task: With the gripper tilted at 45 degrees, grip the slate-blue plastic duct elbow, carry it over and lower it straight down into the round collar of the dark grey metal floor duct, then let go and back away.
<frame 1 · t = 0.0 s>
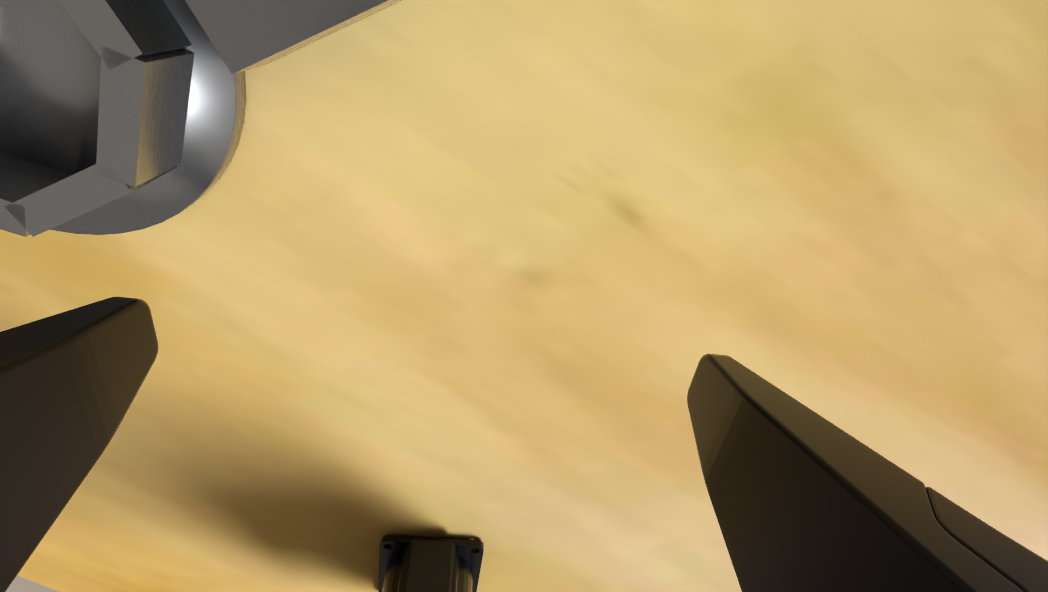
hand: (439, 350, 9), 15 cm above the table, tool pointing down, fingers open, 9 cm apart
duct collar: (42, 44, 19), on the table
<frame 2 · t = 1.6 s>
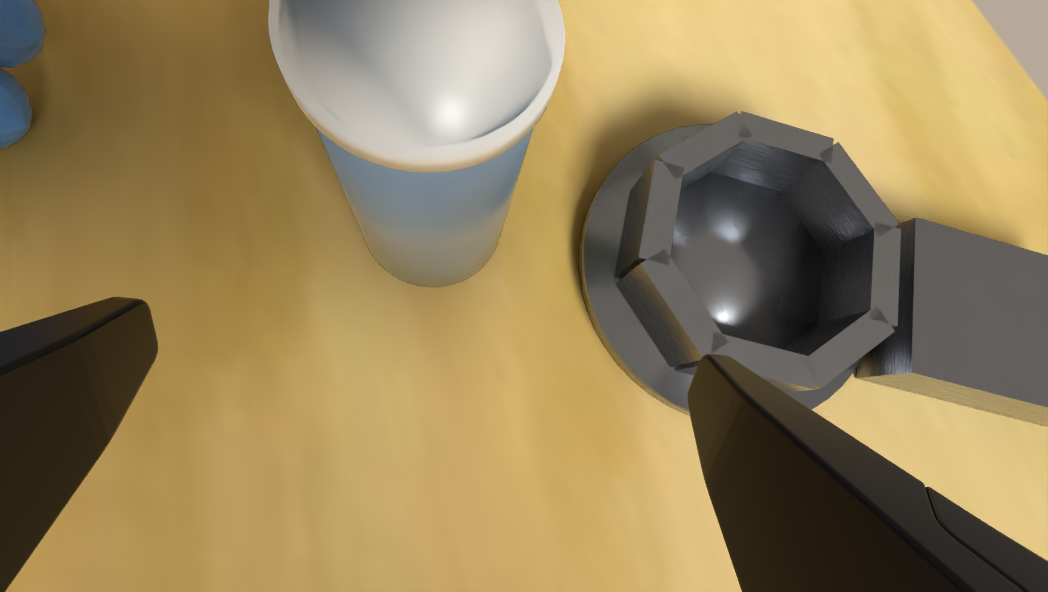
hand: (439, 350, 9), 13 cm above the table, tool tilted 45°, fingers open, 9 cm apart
duct collar: (724, 270, 25), on the table
duct elbow: (432, 220, 23), on the table
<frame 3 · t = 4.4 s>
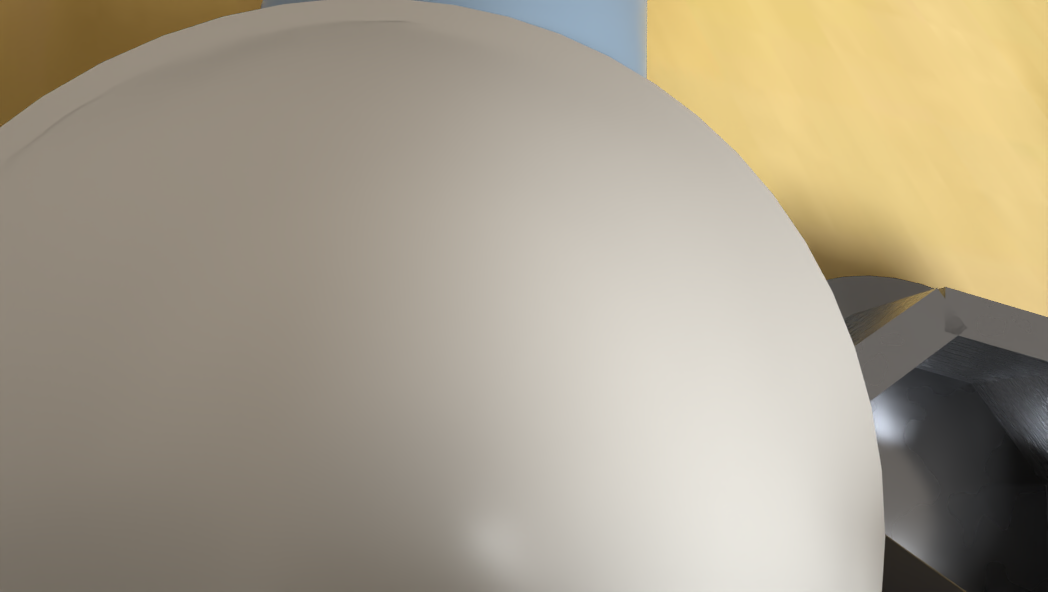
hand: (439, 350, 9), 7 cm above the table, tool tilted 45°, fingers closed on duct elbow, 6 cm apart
duct collar: (886, 507, 16), on the table
duct elbow: (437, 437, 15), on the table, touching gripper
when the fingers open (9 cm above the table, at t = 8.5 s): duct elbow drops 1 cm, resting on duct collar.
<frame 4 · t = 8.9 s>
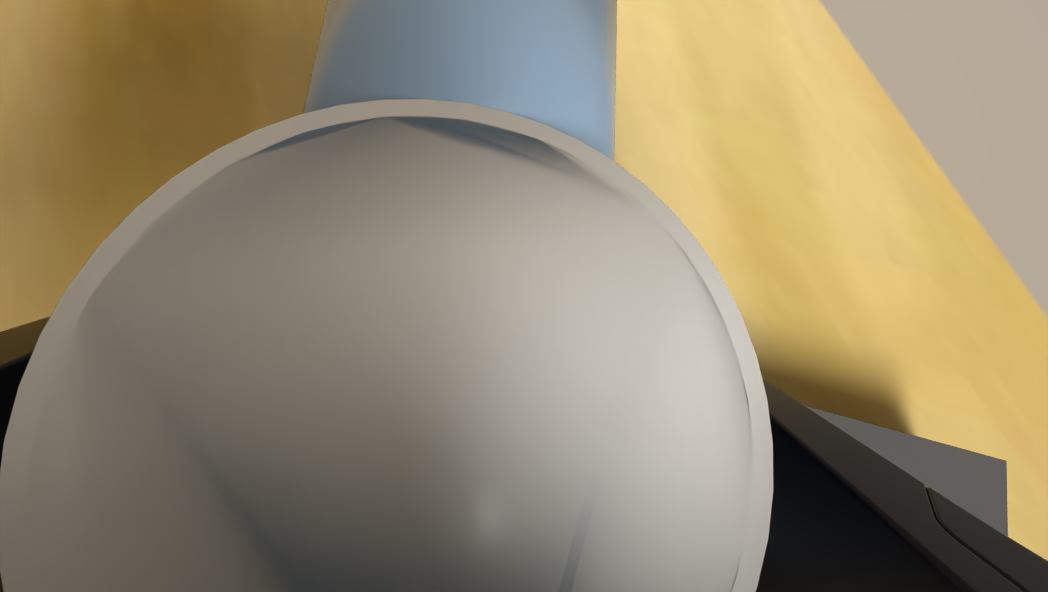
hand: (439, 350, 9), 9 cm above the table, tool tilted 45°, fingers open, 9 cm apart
duct collar: (439, 436, 17), on the table
duct elbow: (437, 441, 16), point 1 cm above the table, touching duct collar
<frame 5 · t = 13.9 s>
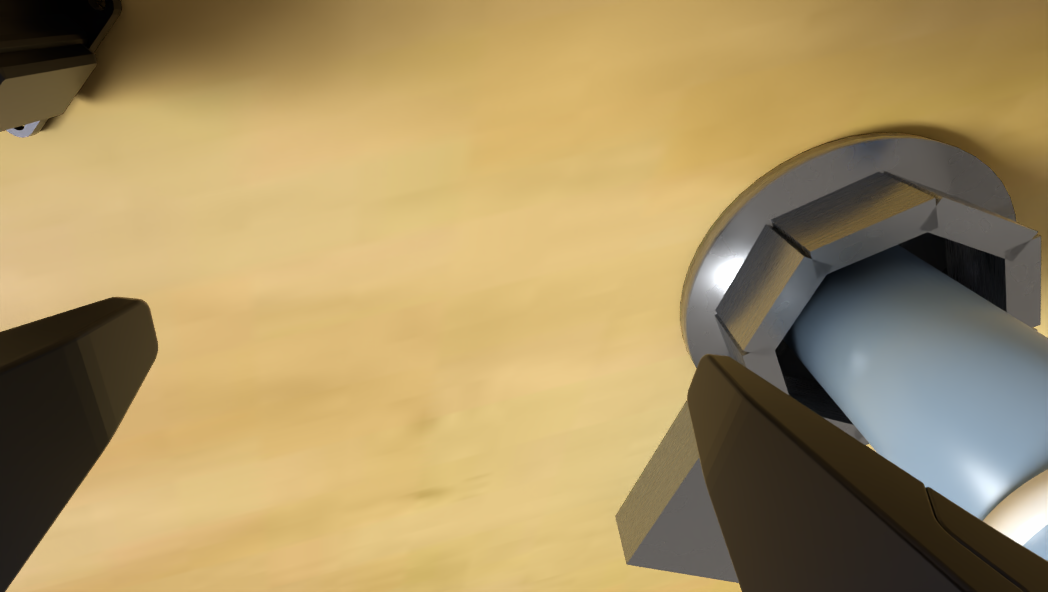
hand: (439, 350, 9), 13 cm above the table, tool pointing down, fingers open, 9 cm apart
duct collar: (833, 290, 24), on the table
duct elbow: (843, 300, 23), point 1 cm above the table, touching duct collar
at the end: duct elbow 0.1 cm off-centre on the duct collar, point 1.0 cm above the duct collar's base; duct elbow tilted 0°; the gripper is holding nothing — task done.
